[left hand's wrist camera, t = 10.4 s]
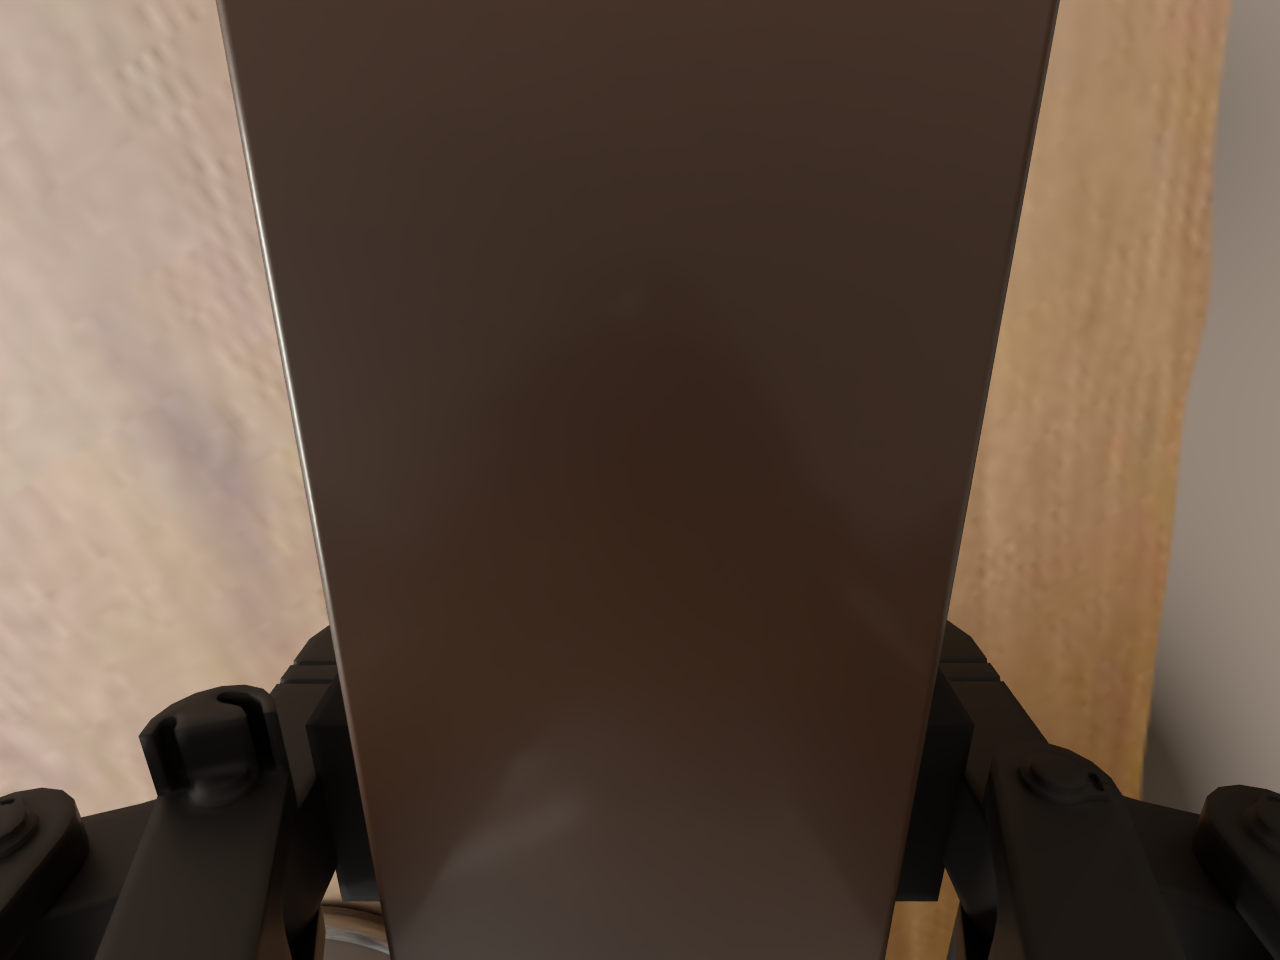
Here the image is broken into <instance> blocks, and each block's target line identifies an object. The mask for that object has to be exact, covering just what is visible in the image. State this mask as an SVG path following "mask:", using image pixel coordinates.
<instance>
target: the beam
mask: <svg viewBox="0 0 1280 960" xmlns="http://www.w3.org/2000/svg"><path fill="white" fill-rule="evenodd" d="M1059 2H1060V0H216V4H217V9H218V15H219V20H220V26H221V31H222V37H223V42H224V48H225V53H226V59H227V64H228V70H229V75H230V81H231V86H232V92H233V97H234V103H235V108H236V114H237V119H238V125H239V130H240V136H241V141H242V147H243V152H244V158H245V163H246V169H247V174H248V180H249V185H250V190H251V196H252V201H253V207H254V212H255V218H256V223H257V229H258V234H259V240H260V245H261V251H262V256H263V262H264V267H265V273H266V278H267V284H268V289H269V295H270V300H271V306H272V311H273V317H274V322H275V328H276V333H277V339H278V344H279V350H280V355H281V361H282V366H283V372H284V377H285V383H286V388H287V393H288V399H289V404H290V410H291V415H292V421H293V426H294V432H295V437H296V443H297V448H298V454H299V459H300V465H301V470H302V476H303V481H304V487H305V492H306V498H307V503H308V509H309V514H310V520H311V525H312V531H313V536H314V542H315V547H316V553H317V558H318V564H319V569H320V575H321V580H322V586H323V591H324V596H325V602H326V607H327V613H328V618H329V624H330V629H331V635H332V640H333V646H334V651H335V657H336V662H337V668H338V673H339V679H340V684H341V690H342V695H343V701H344V706H345V712H346V717H347V723H348V728H349V734H350V739H351V745H352V750H353V756H354V761H355V767H356V772H357V778H358V783H359V789H360V794H361V800H362V805H363V810H364V816H365V821H366V827H367V832H368V838H369V843H370V849H371V854H372V860H373V865H374V871H375V876H376V882H377V887H378V893H379V898H380V904H381V909H382V915H383V920H384V926H385V931H386V937H387V942H388V948H389V953H390V959H391V960H885V954H886V949H887V943H888V938H889V933H890V927H891V922H892V916H893V911H894V905H895V900H896V894H897V889H898V883H899V878H900V872H901V867H902V861H903V856H904V850H905V845H906V839H907V834H908V829H909V823H910V818H911V812H912V807H913V801H914V796H915V790H916V785H917V779H918V774H919V768H920V763H921V757H922V752H923V746H924V741H925V736H926V730H927V725H928V719H929V714H930V708H931V703H932V697H933V692H934V686H935V681H936V675H937V670H938V664H939V659H940V653H941V648H942V642H943V637H944V632H945V626H946V621H947V615H948V610H949V604H950V599H951V593H952V588H953V582H954V577H955V571H956V566H957V560H958V555H959V549H960V544H961V538H962V533H963V528H964V522H965V517H966V511H967V506H968V500H969V495H970V489H971V484H972V478H973V473H974V467H975V462H976V456H977V451H978V445H979V440H980V435H981V429H982V424H983V418H984V413H985V407H986V402H987V396H988V391H989V385H990V380H991V374H992V369H993V363H994V358H995V352H996V347H997V341H998V336H999V331H1000V325H1001V320H1002V314H1003V309H1004V303H1005V298H1006V292H1007V287H1008V281H1009V276H1010V270H1011V265H1012V259H1013V254H1014V248H1015V243H1016V237H1017V232H1018V227H1019V221H1020V216H1021V210H1022V205H1023V199H1024V194H1025V188H1026V183H1027V177H1028V172H1029V166H1030V161H1031V155H1032V150H1033V144H1034V139H1035V134H1036V128H1037V123H1038V117H1039V112H1040V106H1041V101H1042V95H1043V90H1044V84H1045V79H1046V73H1047V68H1048V62H1049V57H1050V51H1051V46H1052V40H1053V35H1054V30H1055V24H1056V19H1057V13H1058V8H1059Z"/></svg>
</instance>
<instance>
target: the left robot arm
mask: <svg viewBox="0 0 1280 960" xmlns="http://www.w3.org/2000/svg"><path fill="white" fill-rule="evenodd" d="M280 680H281V682H280V684H277V685H276V686H275V687H274V689H273V690H272V692H271V693H270V694H269V693H267V692H266V691H265V690H264V689H262V688H257V687H253V686H248V685H233V686H220V687H217V688H213V689H209V690H205V691H202V692H198V693H195V694H193V695H191V696H189V697H186V698H184V699H182V700H180V701H178V702H176V703H174V704H171V705H170V706H169V707H167V708H166V709H165V710H163V711H162V712H161V713H159V714H158V715H156V716H155V717H154V718H152V719H151V720H150V722H149V723H148V724H147V726H146V727H145V728H144V729H143V731H142V732H141V733H140V735H139V739H140V742H141V745H142V748H143V751H144V755H145V758H146V761H147V764H148V767H149V770H150V773H151V776H152V780H153V783H154V786H155V789H156V792H157V795H158V797H157V799H155V800H152V801H148V802H145V803H142V804H138V805H133V806H129V807H125V808H120V809H116V810H112V811H108V812H103V813H99V814H95V815H90V816H86V817H82V818H81V816H80V814H79V811H78V809H77V806H76V803H75V801H74V799H73V798H72V797H70V796H69V795H68V794H67V793H65V792H64V791H63V790H57V789H48V788H37V789H31V790H25V791H19V792H14V793H11V794H9V795H6V796H3V797H0V960H391V959H390V953H389V948H388V942H387V937H386V931H385V926H384V920H383V917H382V916H379V915H375V914H372V913H368V912H363V911H359V910H353V909H348V908H340V907H331V906H321V901H322V899H323V897H324V894H325V892H326V890H327V888H328V885H329V883H330V881H331V879H332V876H333V874H334V872H335V870H336V873H337V878H338V883H339V887H340V892H341V897H342V901H380V898H379V893H378V887H377V882H376V876H375V871H374V865H373V860H372V854H371V849H370V843H369V838H368V832H367V827H366V821H365V816H364V810H363V805H362V800H361V794H360V789H359V783H358V778H357V772H356V767H355V761H354V756H353V750H352V745H351V739H350V734H349V728H348V723H347V717H346V712H345V706H344V701H343V695H342V690H341V684H340V679H339V673H338V668H337V662H336V657H335V651H334V646H333V640H332V635H331V629H330V625H329V626H327V627H326V628H325V629H323V630H322V631H320V632H319V633H318V634H316V635H315V636H313V637H312V638H310V639H309V641H308V642H307V643H306V645H305V646H304V648H303V649H302V650H301V652H300V653H299V654H298V656H297V657H296V659H295V660H294V665H290V667H289V668H288V670H287V671H286V672H285V674H284V675H283V676H282V678H281V679H280ZM945 868H946V870H947V873H948V875H949V877H950V879H951V882H952V884H953V886H954V888H955V891H956V893H957V895H958V897H959V900H960V902H959V907H958V911H957V915H956V920H955V924H954V928H953V933H952V937H951V942H950V946H949V950H948V955H947V960H1280V794H1279V793H1276V792H1273V791H1270V790H1267V789H1262V788H1256V787H1250V786H1244V785H1233V786H1224V787H1218V788H1217V789H1216V790H1214V791H1213V792H1212V793H1211V794H1209V795H1208V796H1207V798H1206V801H1205V803H1204V806H1203V809H1202V811H1201V814H1200V815H1199V814H1195V813H1190V812H1186V811H1181V810H1177V809H1173V808H1169V807H1164V806H1160V805H1156V804H1151V803H1147V802H1143V801H1139V800H1135V799H1132V798H1129V797H1125V796H1122V794H1121V792H1120V791H1119V789H1118V788H1117V786H1116V785H1115V783H1114V782H1113V780H1112V779H1111V777H1109V776H1108V775H1107V774H1106V773H1105V772H1103V771H1102V770H1101V769H1100V768H1099V767H1097V766H1096V765H1095V764H1094V763H1093V762H1091V761H1089V760H1088V759H1086V758H1084V757H1082V756H1080V755H1078V754H1076V753H1074V752H1072V751H1070V750H1069V749H1065V748H1062V747H1059V746H1055V745H1052V744H1049V743H1048V742H1047V740H1046V739H1045V738H1044V736H1043V735H1042V733H1041V732H1040V731H1039V729H1038V728H1037V727H1036V725H1035V724H1034V723H1033V721H1032V720H1031V718H1030V717H1029V716H1028V714H1027V713H1026V712H1025V710H1024V709H1023V707H1022V706H1021V705H1020V703H1019V702H1018V701H1017V699H1016V698H1015V697H1014V695H1013V694H1012V692H1011V691H1010V690H1009V688H1008V687H1007V686H1006V684H1005V683H1004V681H1000V676H999V675H998V673H997V672H996V671H995V669H994V668H993V666H992V665H991V664H990V663H987V658H986V657H985V655H984V654H983V653H982V651H981V650H980V649H979V647H978V646H977V644H976V643H975V642H974V640H973V639H972V638H971V636H969V635H968V634H966V633H965V632H963V631H962V630H961V629H959V628H958V627H956V626H955V625H953V624H952V623H951V622H949V621H948V620H947V621H946V626H945V632H944V637H943V642H942V648H941V653H940V659H939V664H938V670H937V675H936V681H935V686H934V692H933V697H932V703H931V708H930V714H929V719H928V725H927V730H926V736H925V741H924V746H923V752H922V757H921V763H920V768H919V774H918V779H917V785H916V790H915V796H914V801H913V807H912V812H911V818H910V823H909V829H908V834H907V839H906V845H905V850H904V856H903V861H902V867H901V872H900V878H899V883H898V889H897V894H896V900H895V901H938V897H939V892H940V887H941V883H942V878H943V873H944V869H945Z"/></svg>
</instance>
